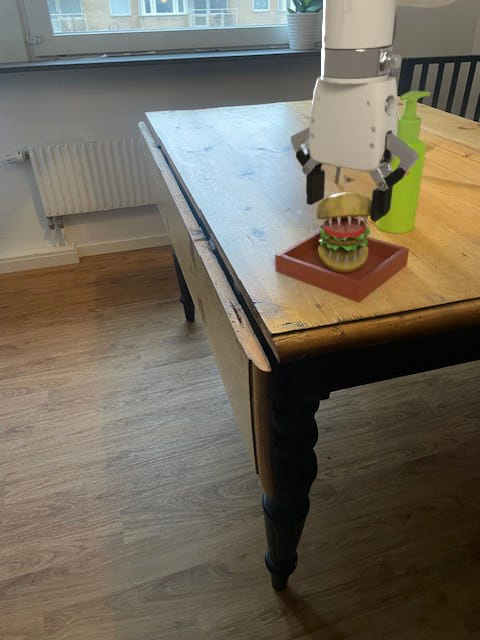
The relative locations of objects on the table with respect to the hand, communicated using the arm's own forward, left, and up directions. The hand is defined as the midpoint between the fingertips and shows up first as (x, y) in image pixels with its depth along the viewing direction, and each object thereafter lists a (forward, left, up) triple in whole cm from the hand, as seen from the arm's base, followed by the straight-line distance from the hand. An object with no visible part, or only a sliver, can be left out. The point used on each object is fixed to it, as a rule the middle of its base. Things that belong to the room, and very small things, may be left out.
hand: (345, 209), depth 66 cm
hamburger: (0, 0, -8) cm, 8 cm away
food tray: (0, 0, -9) cm, 9 cm away
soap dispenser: (+1, -18, -9) cm, 20 cm away
